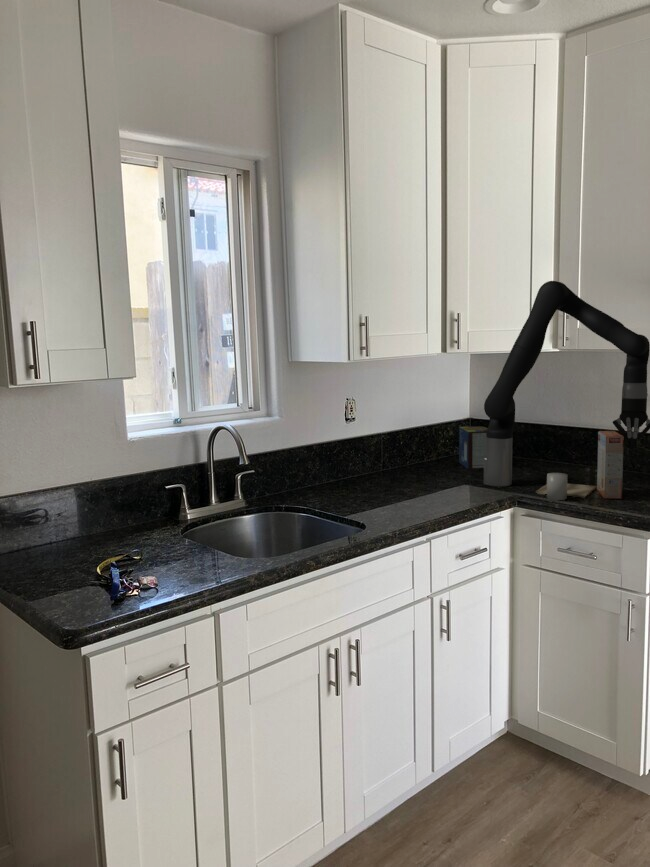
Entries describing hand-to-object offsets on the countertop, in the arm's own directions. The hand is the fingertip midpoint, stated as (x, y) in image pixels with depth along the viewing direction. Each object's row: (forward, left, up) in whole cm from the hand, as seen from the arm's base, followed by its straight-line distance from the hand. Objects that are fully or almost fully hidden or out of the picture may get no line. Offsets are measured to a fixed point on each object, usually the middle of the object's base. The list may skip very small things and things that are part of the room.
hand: (632, 449), depth 235 cm
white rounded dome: (-21, -13, -16) cm, 29 cm away
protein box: (-66, +33, -16) cm, 75 cm away
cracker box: (-7, 0, -16) cm, 17 cm away
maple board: (-21, 0, -16) cm, 26 cm away
